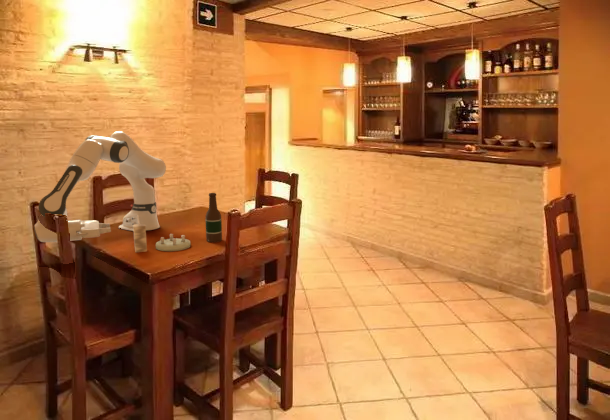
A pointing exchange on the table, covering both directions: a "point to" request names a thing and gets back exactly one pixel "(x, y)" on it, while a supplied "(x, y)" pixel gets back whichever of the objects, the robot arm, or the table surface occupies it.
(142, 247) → the birch block
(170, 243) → the peg plinth
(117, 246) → the table surface
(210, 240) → the beer bottle
